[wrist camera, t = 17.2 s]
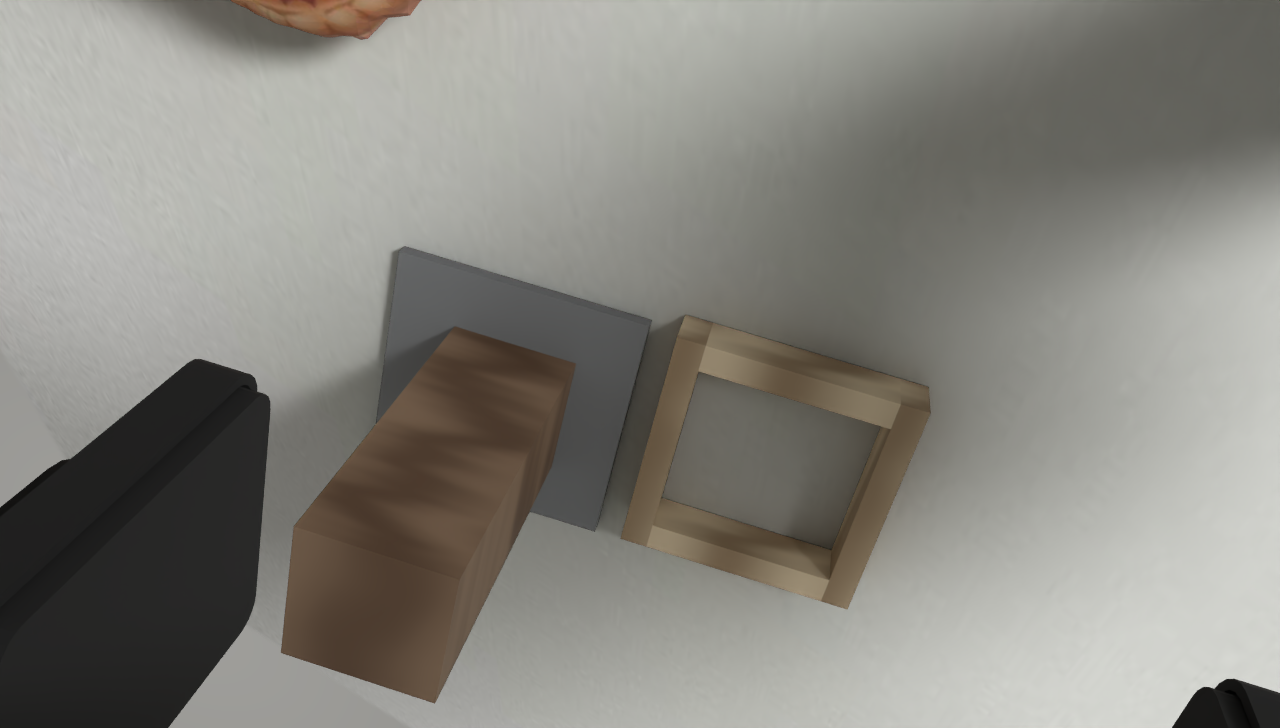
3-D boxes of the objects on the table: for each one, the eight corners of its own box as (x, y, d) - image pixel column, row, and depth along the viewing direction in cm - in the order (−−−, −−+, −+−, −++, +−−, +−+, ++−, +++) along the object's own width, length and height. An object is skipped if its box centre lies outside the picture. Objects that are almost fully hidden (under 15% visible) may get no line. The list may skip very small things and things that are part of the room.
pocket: (928, 387, 46) (930, 413, 44) (848, 578, 51) (847, 609, 49) (685, 314, 46) (676, 337, 44) (630, 510, 51) (620, 538, 50)
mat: (651, 320, 47) (649, 326, 46) (597, 524, 52) (594, 531, 52) (404, 246, 48) (398, 251, 47) (375, 454, 53) (370, 461, 52)
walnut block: (576, 363, 48) (459, 579, 35) (551, 466, 50) (434, 703, 37) (454, 326, 48) (293, 526, 35) (436, 430, 51) (280, 652, 38)
